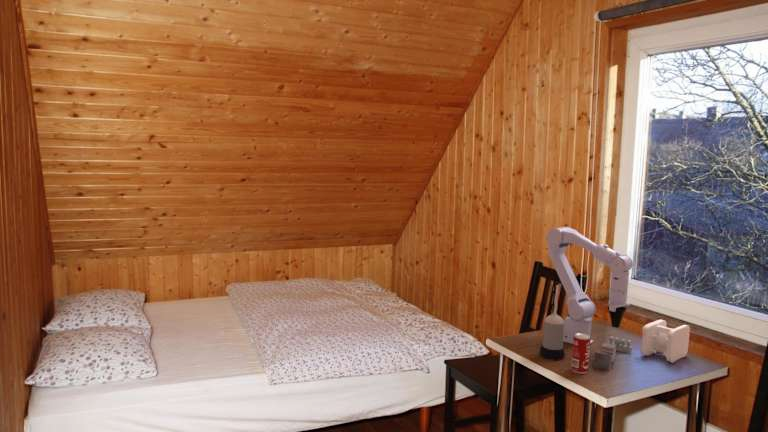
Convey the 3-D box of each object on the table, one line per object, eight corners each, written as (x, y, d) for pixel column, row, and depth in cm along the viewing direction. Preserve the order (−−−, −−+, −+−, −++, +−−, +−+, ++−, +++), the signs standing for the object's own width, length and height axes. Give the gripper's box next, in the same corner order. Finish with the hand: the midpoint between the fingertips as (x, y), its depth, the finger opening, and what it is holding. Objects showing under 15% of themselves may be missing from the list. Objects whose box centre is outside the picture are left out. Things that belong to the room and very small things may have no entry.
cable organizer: (669, 365, 199) (672, 332, 197) (638, 356, 207) (641, 324, 205) (688, 356, 209) (691, 324, 207) (658, 348, 217) (660, 317, 215)
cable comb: (608, 347, 216) (609, 335, 215) (631, 352, 211) (632, 340, 210) (607, 348, 214) (608, 337, 213) (630, 353, 209) (631, 342, 209)
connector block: (596, 364, 198) (597, 349, 197) (611, 367, 195) (612, 353, 194) (593, 366, 195) (594, 352, 195) (609, 370, 192) (610, 355, 192)
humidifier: (569, 357, 203) (574, 286, 200) (552, 361, 199) (557, 289, 196) (551, 350, 210) (556, 281, 207) (534, 353, 206) (539, 283, 203)
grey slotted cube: (603, 356, 202) (604, 342, 202) (615, 359, 200) (616, 345, 199) (599, 359, 199) (600, 345, 198) (611, 362, 197) (613, 348, 196)
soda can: (582, 367, 194) (585, 332, 193) (590, 373, 189) (593, 337, 188) (568, 368, 193) (570, 332, 192) (575, 374, 188) (578, 338, 187)
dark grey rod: (614, 345, 213) (615, 336, 213) (624, 348, 211) (625, 338, 211) (597, 362, 196) (598, 351, 196) (608, 364, 194) (609, 354, 194)
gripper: (625, 295, 199) (622, 334, 201) (635, 287, 211) (632, 324, 212) (604, 291, 203) (601, 329, 205) (615, 284, 215) (612, 320, 216)
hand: (615, 326), depth 209 cm, fingers closed
